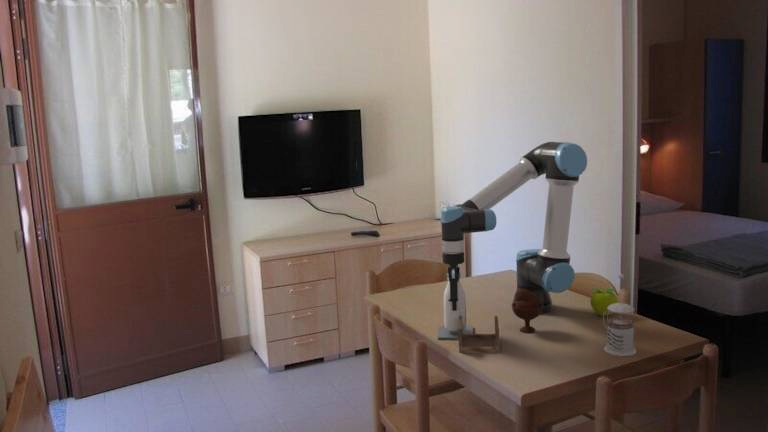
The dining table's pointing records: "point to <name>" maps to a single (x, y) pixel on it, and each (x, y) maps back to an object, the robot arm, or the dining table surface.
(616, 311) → the french press
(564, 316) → the dining table surface
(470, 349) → the cradle
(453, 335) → the coaster
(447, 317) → the milk bottle
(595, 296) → the fruit
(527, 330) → the ice cream bowl
